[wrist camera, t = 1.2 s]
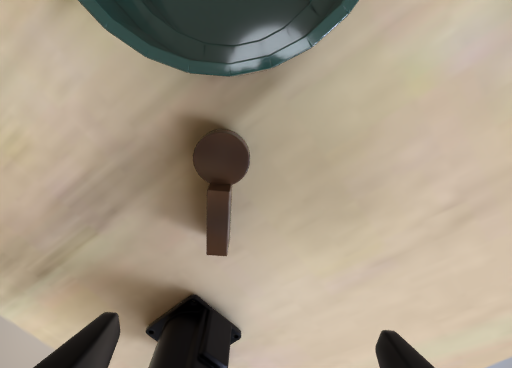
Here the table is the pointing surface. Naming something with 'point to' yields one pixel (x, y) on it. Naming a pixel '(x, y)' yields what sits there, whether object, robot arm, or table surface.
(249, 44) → the bucket
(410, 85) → the table surface
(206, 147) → the spoon
